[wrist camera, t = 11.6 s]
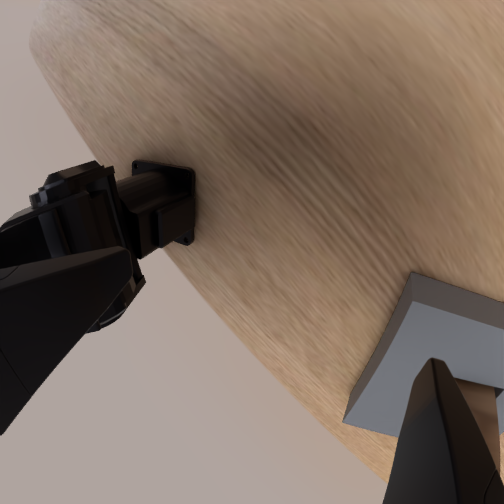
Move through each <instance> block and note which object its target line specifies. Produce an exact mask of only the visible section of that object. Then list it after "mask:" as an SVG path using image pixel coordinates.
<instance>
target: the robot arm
mask: <svg viewBox="0 0 504 504" xmlns="http://www.w3.org/2000/svg"><path fill="white" fill-rule="evenodd" d="M137 165H138V167H137ZM114 173H115V171H114V166H109V167H106V168H104V165H102V166H100V165H99V163H98V162H97V161H95V160H94V161H91V162H88V163H84V164H81V165H78V166H75V167H71V168H68V169H65V170H61V171H58V172H55V173H52V174H50V175H48V177H47V179H46V181H45V183H44V185H43V187H40V188H38V190H39V192H36V193H34V194H32V195H30V196H29V198H30V202H31V207H28V208H26V209H24V210H21V211H19V212H17V213H15V214H14V215H13V216H12V217H11V218H9V219H8V220H7V221H6V222H5V223H4V224H3V225H2V226H1V227H0V435H2V434H3V433H4V432H5V431H6V430H7V428H8V427H9V426H10V424H11V423H12V422H13V420H14V419H15V417H16V416H17V415H18V414H19V412H20V411H21V410H22V409H23V407H24V406H25V405H26V403H27V402H28V401H29V400H30V398H31V397H32V396H33V394H34V393H35V392H36V390H37V389H38V388H39V387H40V386H41V385H42V383H43V382H44V381H45V379H46V378H47V377H48V376H49V375H50V374H51V372H52V371H53V370H54V369H55V368H56V366H57V365H58V364H59V363H60V362H61V361H62V360H63V358H64V357H65V356H66V355H67V354H68V353H69V351H70V350H71V349H72V348H73V347H74V346H75V345H76V343H77V342H78V341H79V340H80V339H81V338H82V337H83V336H84V334H86V333H90V332H95V331H99V330H100V329H101V328H104V327H106V326H108V325H110V324H112V323H113V322H115V321H116V320H117V319H119V318H120V317H121V316H122V314H123V313H124V312H125V310H126V309H127V308H128V306H129V305H130V303H131V302H132V301H133V299H134V298H135V297H136V295H137V294H138V293H139V291H140V290H141V288H142V287H143V286H144V285H145V283H146V281H145V278H144V275H142V273H141V269H140V267H139V263H138V261H137V259H142V258H144V257H145V256H147V255H148V254H150V253H151V252H153V251H154V250H156V249H157V248H163V247H165V246H166V245H168V244H169V243H171V242H172V241H174V242H177V243H180V244H183V245H186V246H188V245H190V244H192V243H193V240H194V216H195V198H194V188H195V173H194V171H193V170H192V169H190V168H186V167H180V166H174V165H169V164H163V163H157V162H151V161H144V160H135V161H133V163H132V176H131V177H128V178H125V179H122V180H119V181H117V182H116V181H115V177H114ZM187 173H188V174H189V177H188V176H187ZM186 238H187V239H188V240H187V239H186ZM383 504H504V485H503V482H502V480H501V477H500V474H499V472H498V470H497V469H496V465H495V462H494V460H493V457H492V455H491V452H490V450H489V448H488V445H487V443H486V441H485V439H484V436H483V434H482V432H481V430H480V428H479V426H478V423H477V421H476V419H475V417H474V415H473V413H472V411H471V409H470V407H469V405H468V403H467V401H466V399H465V397H464V395H463V393H462V392H461V390H460V388H459V386H458V384H457V382H456V380H455V379H454V377H453V375H452V373H451V371H450V370H449V368H448V366H447V364H446V363H445V361H443V360H440V359H437V358H433V357H432V358H429V359H428V360H427V362H426V363H425V365H424V366H423V367H422V369H421V370H420V372H419V373H418V375H417V376H416V378H415V379H414V382H413V384H412V388H411V393H410V397H409V401H408V405H407V409H406V412H405V416H404V420H403V423H402V427H401V430H400V434H399V438H398V443H397V447H396V452H395V457H394V461H393V466H392V470H391V474H390V478H389V482H388V486H387V490H386V493H385V497H384V500H383Z"/></svg>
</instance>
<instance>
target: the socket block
mask: <svg viewBox="0 0 504 504" xmlns="http://www.w3.org/2000/svg"><path fill="white" fill-rule="evenodd" d="M432 357H433V358H437V359H440V360H443V361H445V363H446V364H447V366H448V368H449V370H450V371H451V373H452V375H453V377H455V378H459V379H463V380H467V381H472V382H476V383H480V384H484V385H489V386H493V387H494V390H495V397H496V405H497V414H498V425H499V435H500V434H502V433H503V432H504V303H502V302H499V301H496V300H493V299H490V298H488V297H485V296H482V295H479V294H476V293H473V292H470V291H467V290H464V289H462V288H459V287H456V286H453V285H450V284H447V283H444V282H441V281H438V280H435V279H432V278H429V277H426V276H423V275H419V274H416V273H413V272H411V274H410V276H409V279H408V281H407V283H406V286H405V288H404V291H403V293H402V295H401V297H400V300H399V302H398V304H397V306H396V309H395V311H394V313H393V315H392V317H391V319H390V321H389V324H388V326H387V328H386V330H385V332H384V334H383V336H382V338H381V340H380V342H379V344H378V346H377V348H376V349H375V351H374V353H373V355H372V357H371V359H370V361H369V362H368V364H367V366H366V368H365V370H364V371H363V373H362V375H361V377H360V378H359V380H358V382H357V384H356V385H355V387H354V389H353V390H352V392H351V394H350V397H349V401H348V404H347V408H346V411H345V415H344V418H343V421H342V423H345V424H349V425H352V426H356V427H359V428H363V429H367V430H370V431H374V432H378V433H382V434H386V435H390V436H395V437H399V434H400V430H401V427H402V423H403V420H404V416H405V412H406V409H407V405H408V401H409V397H410V393H411V388H412V384H413V382H414V379H415V378H416V376H417V375H418V373H419V372H420V370H421V369H422V367H423V366H424V365H425V363H426V362H427V360H428V359H429V358H432Z"/></svg>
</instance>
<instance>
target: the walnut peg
mask: <svg viewBox="0 0 504 504" xmlns="http://www.w3.org/2000/svg"><path fill="white" fill-rule="evenodd" d="M454 379H455V380H456V382H457V384H458V386H459V388H460V390H461V392H462V393H463V395H464V397H465V399H466V401H467V403H468V405H469V407H470V409H471V411H472V413H473V415H474V417H475V419H476V421H477V423H478V426H479V428H480V430H481V432H482V434H483V436H484V439H485V441H486V443H487V445H488V448H489V450H490V452H491V455H492V457H493V460H494V462H495V465H496V469H497V470H498V472H499V474H500V439H499V425H498V414H497V405H496V397H495V390H494V387H493V386H489V385H484V384H480V383H476V382H472V381H467V380H463V379H459V378H455V377H454Z"/></svg>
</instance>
